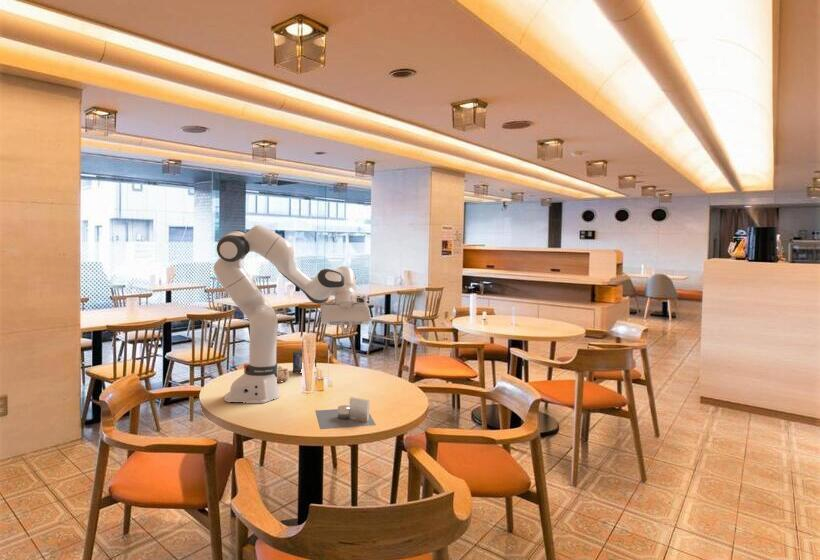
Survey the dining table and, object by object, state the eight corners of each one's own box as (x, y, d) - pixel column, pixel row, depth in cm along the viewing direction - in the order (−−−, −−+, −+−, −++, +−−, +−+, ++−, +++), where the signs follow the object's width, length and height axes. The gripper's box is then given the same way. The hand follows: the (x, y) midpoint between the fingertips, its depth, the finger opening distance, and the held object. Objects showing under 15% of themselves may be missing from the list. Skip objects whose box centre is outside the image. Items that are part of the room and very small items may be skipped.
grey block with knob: (335, 417, 188) (335, 397, 187) (342, 413, 193) (342, 394, 192) (364, 423, 183) (365, 402, 182) (371, 419, 187) (371, 398, 187)
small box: (291, 372, 255) (292, 352, 255) (299, 369, 262) (299, 349, 261) (310, 375, 252) (310, 354, 251) (316, 372, 258) (317, 351, 257)
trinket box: (291, 382, 238) (291, 366, 238) (259, 386, 230) (259, 369, 230) (282, 375, 250) (282, 360, 249) (252, 379, 242) (252, 363, 241)
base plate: (320, 431, 177) (320, 428, 177) (315, 413, 196) (315, 409, 196) (376, 427, 182) (376, 424, 182) (365, 409, 202) (365, 406, 202)
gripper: (320, 298, 206) (320, 329, 199) (370, 299, 210) (371, 329, 203) (320, 306, 212) (319, 336, 205) (368, 306, 215) (370, 336, 208)
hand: (346, 332), depth 204 cm, fingers closed
